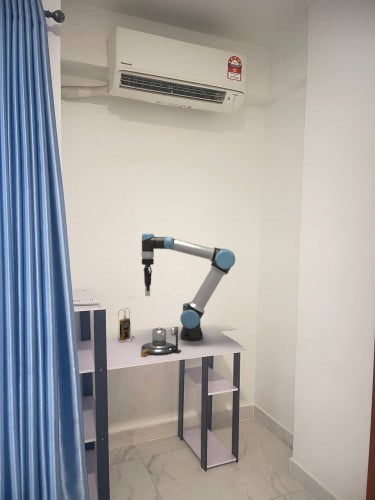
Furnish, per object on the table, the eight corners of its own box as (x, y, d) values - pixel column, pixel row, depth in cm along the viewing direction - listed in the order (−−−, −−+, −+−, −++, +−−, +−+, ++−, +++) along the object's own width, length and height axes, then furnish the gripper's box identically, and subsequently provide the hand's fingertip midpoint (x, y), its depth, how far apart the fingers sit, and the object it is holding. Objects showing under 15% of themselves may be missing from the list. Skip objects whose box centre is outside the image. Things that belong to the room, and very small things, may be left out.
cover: (157, 343, 222) (157, 325, 222) (172, 346, 216) (172, 327, 216) (145, 347, 213) (145, 328, 213) (160, 350, 207) (160, 331, 206)
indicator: (181, 351, 213) (181, 326, 212) (178, 353, 208) (178, 328, 208) (169, 349, 215) (170, 325, 215) (166, 352, 210) (166, 327, 210)
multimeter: (127, 344, 226) (127, 311, 226) (115, 341, 232) (115, 310, 231) (142, 338, 239) (142, 308, 238) (130, 336, 244) (130, 306, 244)
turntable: (155, 342, 229) (155, 338, 229) (182, 347, 218) (182, 343, 218) (129, 352, 208) (129, 348, 208) (157, 359, 197) (157, 354, 197)
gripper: (139, 257, 233) (139, 294, 234) (143, 258, 221) (143, 297, 222) (151, 257, 236) (151, 294, 236) (156, 258, 223) (155, 297, 224)
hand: (147, 295), depth 229 cm, fingers closed
